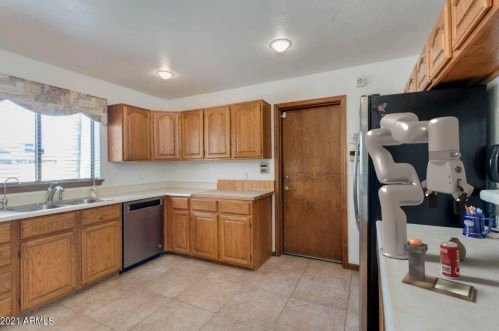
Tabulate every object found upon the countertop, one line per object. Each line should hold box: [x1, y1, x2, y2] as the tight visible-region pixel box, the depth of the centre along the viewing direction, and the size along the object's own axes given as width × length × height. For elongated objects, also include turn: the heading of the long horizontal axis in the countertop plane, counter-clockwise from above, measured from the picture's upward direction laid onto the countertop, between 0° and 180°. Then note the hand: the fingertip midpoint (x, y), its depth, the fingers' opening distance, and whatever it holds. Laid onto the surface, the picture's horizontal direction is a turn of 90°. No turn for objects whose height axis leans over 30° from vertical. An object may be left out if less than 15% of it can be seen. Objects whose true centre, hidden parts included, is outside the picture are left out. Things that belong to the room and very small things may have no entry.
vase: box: [447, 237, 467, 262], centre depth 101 cm, size 7×7×9 cm
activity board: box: [401, 240, 475, 303], centre depth 81 cm, size 18×10×13 cm, turn 44°
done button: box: [408, 238, 423, 247], centre depth 85 cm, size 4×4×2 cm
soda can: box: [439, 241, 461, 280], centre depth 87 cm, size 5×5×12 cm
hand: (445, 210), depth 76 cm, fingers open, 9 cm apart
